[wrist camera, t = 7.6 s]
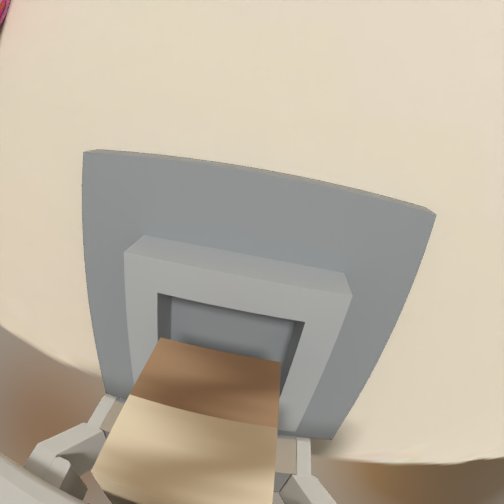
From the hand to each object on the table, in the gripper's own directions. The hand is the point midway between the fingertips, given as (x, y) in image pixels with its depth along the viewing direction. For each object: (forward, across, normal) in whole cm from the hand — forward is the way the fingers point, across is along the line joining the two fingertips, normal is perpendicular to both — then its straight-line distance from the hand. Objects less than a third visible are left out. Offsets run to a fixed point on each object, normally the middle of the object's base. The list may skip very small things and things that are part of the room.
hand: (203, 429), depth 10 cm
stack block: (+2, 0, 0) cm, 2 cm away
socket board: (+7, 0, 0) cm, 7 cm away
